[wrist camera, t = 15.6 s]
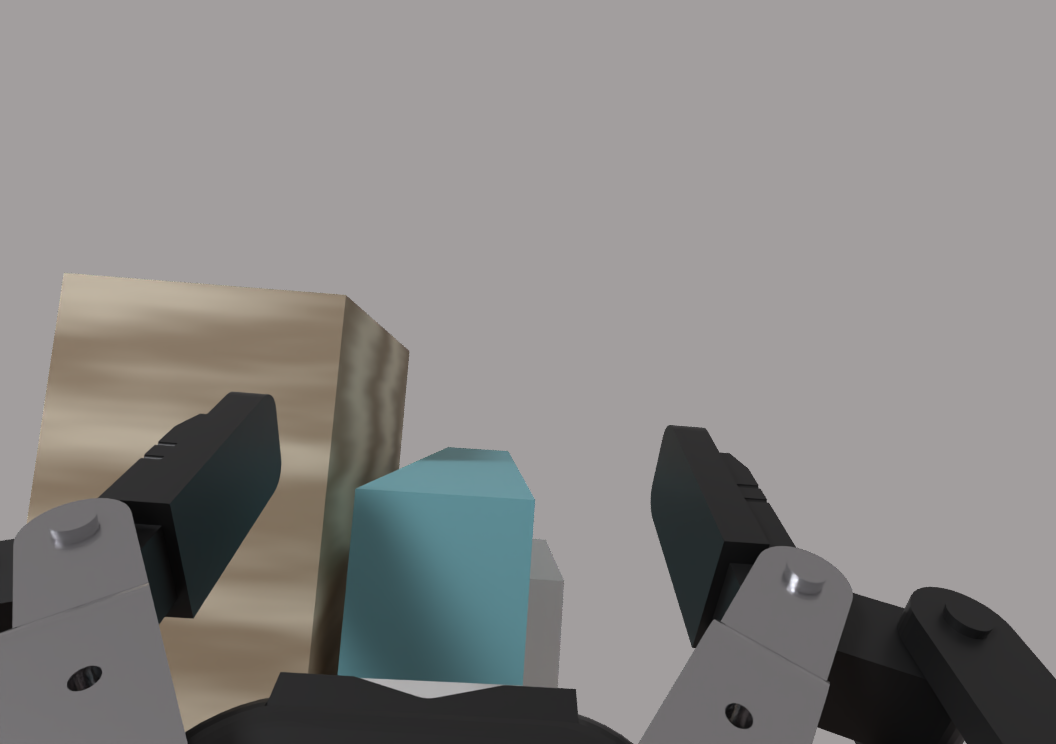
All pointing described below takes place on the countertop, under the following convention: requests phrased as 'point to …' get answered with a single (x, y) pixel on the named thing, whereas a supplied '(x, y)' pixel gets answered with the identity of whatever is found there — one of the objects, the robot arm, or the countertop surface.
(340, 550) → the maple stand
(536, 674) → the white block
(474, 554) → the teal bar
